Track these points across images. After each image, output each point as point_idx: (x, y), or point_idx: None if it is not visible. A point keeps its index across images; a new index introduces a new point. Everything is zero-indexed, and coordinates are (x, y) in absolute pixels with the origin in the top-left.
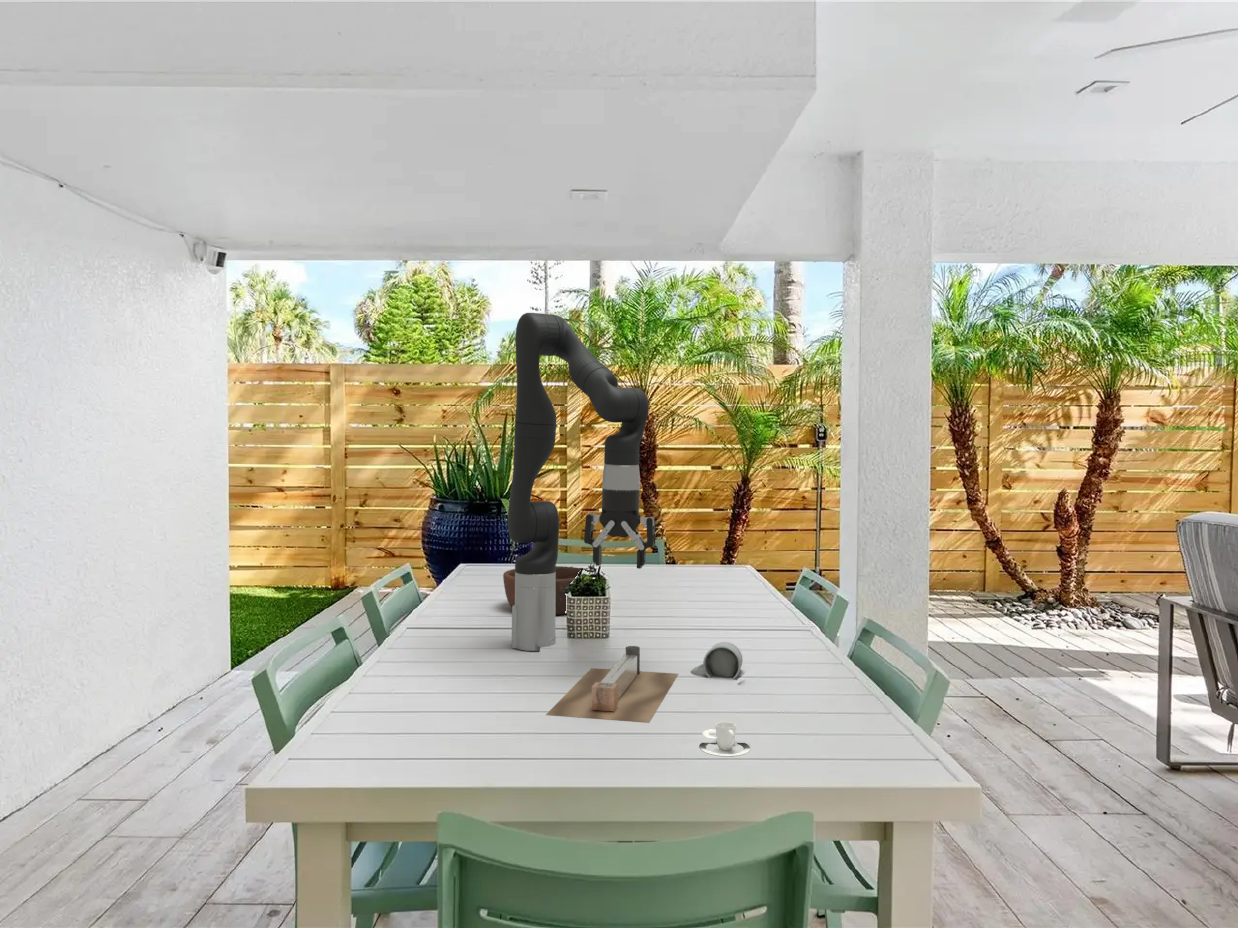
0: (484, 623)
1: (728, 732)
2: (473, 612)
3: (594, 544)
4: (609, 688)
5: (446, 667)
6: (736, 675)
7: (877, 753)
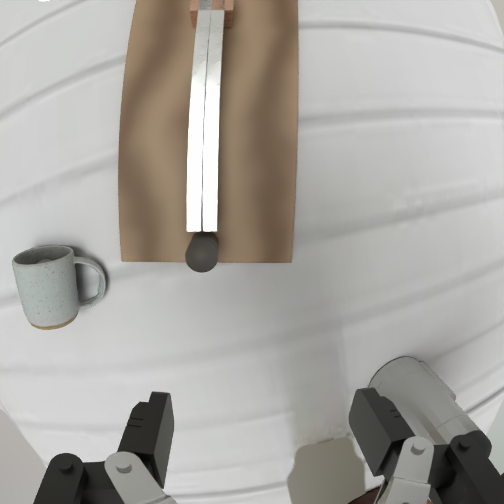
0: None
1: None
2: None
3: (423, 444)
4: None
5: (484, 241)
6: (31, 249)
7: None
